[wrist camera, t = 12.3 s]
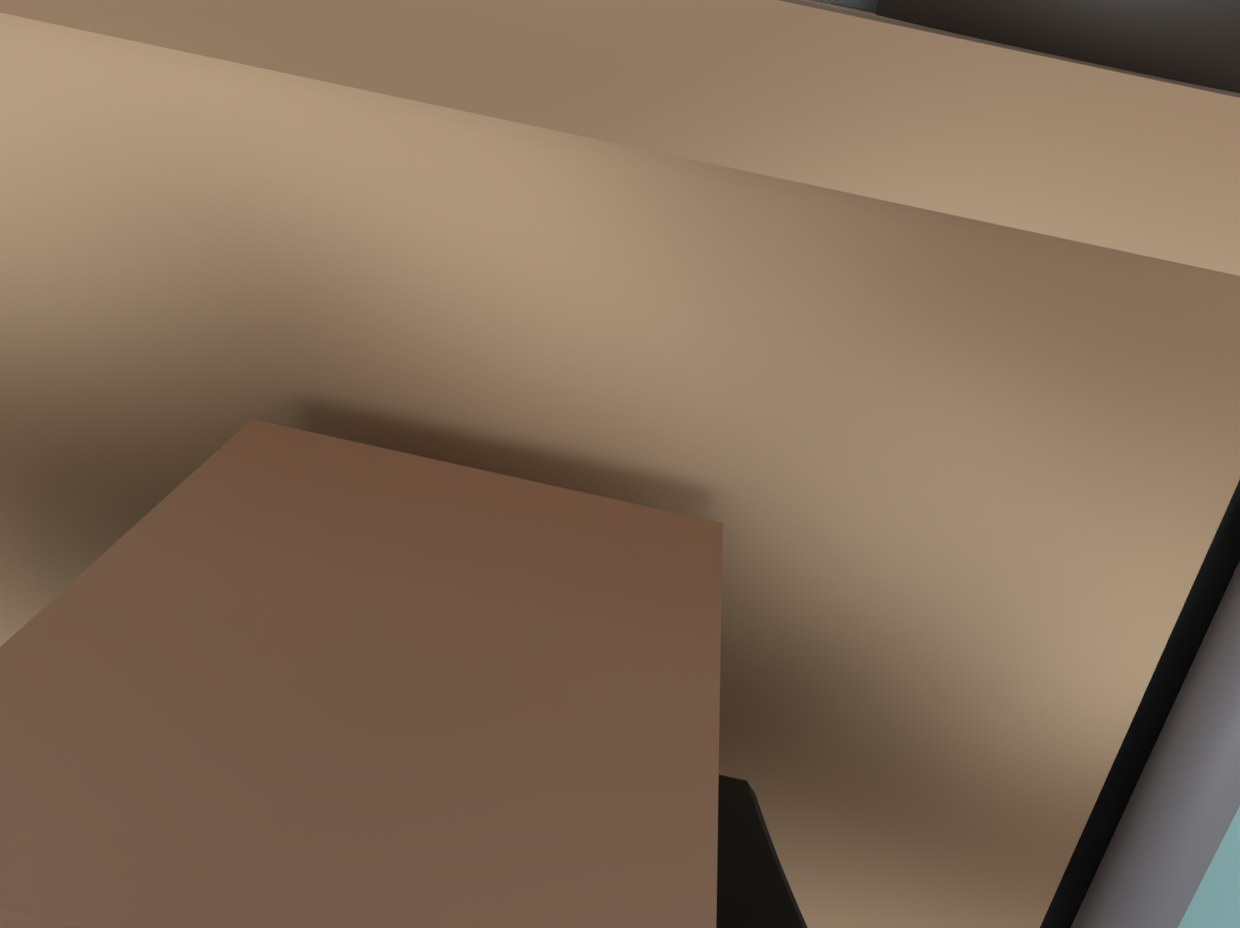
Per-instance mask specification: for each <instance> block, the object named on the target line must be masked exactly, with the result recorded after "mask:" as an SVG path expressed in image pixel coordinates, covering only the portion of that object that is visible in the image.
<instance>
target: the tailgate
mask: <svg viewBox="0 0 1240 928" xmlns="http://www.w3.org/2000/svg"><path fill="white" fill-rule="evenodd" d="M1071 928H1240V561H1239V563H1238V565H1237V567H1236V569H1235V571H1234V574H1233V576H1232V578H1231V580H1230V582H1229V584H1228V587H1227V589H1226V591H1225V593H1224V595H1223V598H1222V600H1221V602H1220V604H1219V606H1218V608H1217V611H1216V613H1215V615H1214V617H1213V619H1212V621H1211V624H1210V626H1209V628H1208V630H1207V632H1206V634H1205V637H1204V639H1203V641H1202V643H1201V645H1200V648H1199V650H1198V652H1197V654H1196V656H1195V658H1194V661H1193V663H1192V665H1191V667H1190V669H1189V671H1188V674H1187V676H1186V678H1185V680H1184V682H1183V684H1182V687H1181V689H1180V691H1179V693H1178V695H1177V698H1176V700H1175V702H1174V704H1173V706H1172V708H1171V711H1170V713H1169V715H1168V717H1167V719H1166V721H1165V724H1164V726H1163V728H1162V730H1161V732H1160V734H1159V737H1158V739H1157V741H1156V743H1155V745H1154V747H1153V750H1152V752H1151V754H1150V756H1149V758H1148V761H1147V763H1146V765H1145V767H1144V769H1143V771H1142V774H1141V776H1140V778H1139V780H1138V782H1137V784H1136V787H1135V789H1134V791H1133V793H1132V795H1131V797H1130V800H1129V802H1128V804H1127V806H1126V808H1125V811H1124V813H1123V815H1122V817H1121V819H1120V821H1119V824H1118V826H1117V828H1116V830H1115V832H1114V834H1113V837H1112V839H1111V841H1110V843H1109V845H1108V847H1107V850H1106V852H1105V854H1104V856H1103V858H1102V861H1101V863H1100V865H1099V867H1098V869H1097V871H1096V874H1095V876H1094V878H1093V880H1092V882H1091V884H1090V887H1089V889H1088V891H1087V893H1086V895H1085V897H1084V900H1083V902H1082V904H1081V906H1080V908H1079V910H1078V913H1077V915H1076V917H1075V919H1074V921H1073V924H1072V926H1071Z"/></svg>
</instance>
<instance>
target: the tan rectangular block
mask: <svg viewBox="0 0 1240 928" xmlns="http://www.w3.org/2000/svg"><path fill="white" fill-rule="evenodd" d="M722 525H723V523H719V522H715V521H710V520H706V519H701V518H697V517H692V516H688V515H683V514H679V513H674V512H670V511H665V510H660V509H656V508H651V507H647V506H642V505H638V504H633V503H629V502H624V501H620V500H615V499H611V498H606V497H602V496H597V495H593V494H588V493H584V492H579V491H575V490H570V489H566V488H561V487H557V486H552V485H548V484H543V483H539V482H534V481H530V480H525V479H521V478H516V477H512V476H507V475H503V474H498V473H494V472H489V471H485V470H480V469H475V468H471V467H466V466H462V465H457V464H453V463H448V462H444V461H439V460H435V459H430V458H426V457H421V456H417V455H412V454H408V453H403V452H399V451H394V450H390V449H385V448H381V447H376V446H372V445H367V444H363V443H358V442H354V441H349V440H345V439H340V438H336V437H331V436H327V435H322V434H318V433H313V432H309V431H304V430H300V429H295V428H291V427H286V426H281V425H277V424H272V423H268V422H263V421H259V420H254V419H252V420H251V421H250V422H248V423H247V424H246V425H245V426H244V427H243V428H242V429H241V430H240V431H238V432H237V433H236V434H235V435H234V436H233V437H232V438H231V439H230V440H229V441H227V442H226V443H225V444H224V445H223V446H222V447H221V448H220V449H219V450H217V451H216V452H215V453H214V454H213V455H212V456H211V457H210V458H209V459H207V460H206V461H205V462H204V463H203V464H202V465H201V466H200V467H199V468H198V469H196V470H195V471H194V472H193V473H192V474H191V475H190V476H189V477H188V478H186V479H185V480H184V481H183V482H182V483H181V484H180V485H179V486H178V487H177V488H175V489H174V490H173V491H172V492H171V493H170V494H169V495H168V496H167V497H165V498H164V499H163V500H162V501H161V502H160V503H159V504H158V505H157V506H156V507H154V508H153V509H152V510H151V511H150V512H149V513H148V514H147V515H146V516H144V517H143V518H142V519H141V520H140V521H139V522H138V523H137V524H136V525H134V526H133V527H132V528H131V529H130V530H129V531H128V532H127V533H126V534H125V535H123V536H122V537H121V538H120V539H119V540H118V541H117V542H116V543H115V544H113V545H112V546H111V547H110V548H109V549H108V550H107V551H106V552H105V553H104V554H102V555H101V556H100V557H99V558H98V559H97V560H96V561H95V562H94V563H92V564H91V565H90V566H89V567H88V568H87V569H86V570H85V571H84V572H83V573H81V574H80V575H79V576H78V577H77V578H76V579H75V580H74V581H73V582H71V583H70V584H69V585H68V586H67V587H66V588H65V589H64V590H63V591H61V592H60V593H59V594H58V595H57V596H56V597H55V598H54V599H53V600H52V601H50V602H49V603H48V604H47V605H46V606H45V607H44V608H43V609H42V610H40V611H39V612H38V613H37V614H36V615H35V616H34V617H33V618H32V619H31V620H29V621H28V622H27V623H26V624H25V625H24V626H23V627H22V628H21V629H19V630H18V631H17V632H16V633H15V634H14V635H13V636H12V637H11V638H9V639H8V640H7V641H6V642H5V643H4V644H3V645H2V646H1V647H0V928H716V916H717V851H718V786H719V721H720V655H721V590H722Z"/></svg>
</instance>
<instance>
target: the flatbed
mask: <svg viewBox="0 0 1240 928" xmlns="http://www.w3.org/2000/svg"><path fill="white" fill-rule="evenodd" d="M252 419H254V420H259V421H263V422H268V423H272V424H277V425H281V426H286V427H291V428H295V429H300V430H304V431H309V432H313V433H318V434H322V435H327V436H331V437H336V438H340V439H345V440H349V441H354V442H358V443H363V444H367V445H372V446H376V447H381V448H385V449H390V450H394V451H399V452H403V453H408V454H412V455H417V456H421V457H426V458H430V459H435V460H439V461H444V462H448V463H453V464H457V465H462V466H466V467H471V468H475V469H480V470H485V471H489V472H494V473H498V474H503V475H507V476H512V477H516V478H521V479H525V480H530V481H534V482H539V483H543V484H548V485H552V486H557V487H561V488H566V489H570V490H575V491H579V492H584V493H588V494H593V495H597V496H602V497H606V498H611V499H615V500H620V501H624V502H629V503H633V504H638V505H642V506H647V507H651V508H656V509H660V510H665V511H670V512H674V513H679V514H683V515H688V516H692V517H697V518H701V519H706V520H710V521H715V522H719V523H723V525H722V590H721V655H720V721H719V775H723V776H728V777H732V778H737V779H742V780H746V781H747V782H748V783H749V785H750V786H751V788H752V789H753V791H754V792H755V794H756V797H757V800H758V803H759V806H760V809H761V812H762V815H763V818H764V820H765V823H766V826H767V829H768V832H769V834H770V837H771V840H772V842H773V845H774V848H775V850H776V853H777V855H778V858H779V861H780V863H781V866H782V868H783V871H784V873H785V875H786V878H787V880H788V883H789V885H790V888H791V890H792V892H793V895H794V897H795V900H796V902H797V904H798V907H799V909H800V911H801V914H802V916H803V918H804V920H805V923H806V925H807V927H808V928H1040V926H1041V924H1042V922H1043V919H1044V917H1045V915H1046V913H1047V910H1048V908H1049V906H1050V904H1051V901H1052V899H1053V897H1054V895H1055V892H1056V890H1057V888H1058V886H1059V883H1060V881H1061V879H1062V877H1063V874H1064V872H1065V870H1066V868H1067V865H1068V863H1069V861H1070V859H1071V857H1072V854H1073V852H1074V850H1075V848H1076V845H1077V843H1078V841H1079V839H1080V836H1081V834H1082V832H1083V830H1084V827H1085V825H1086V823H1087V821H1088V818H1089V816H1090V814H1091V812H1092V809H1093V807H1094V805H1095V803H1096V800H1097V798H1098V796H1099V794H1100V792H1101V789H1102V787H1103V785H1104V783H1105V780H1106V778H1107V776H1108V774H1109V771H1110V769H1111V767H1112V765H1113V762H1114V760H1115V758H1116V756H1117V753H1118V751H1119V749H1120V747H1121V744H1122V742H1123V740H1124V738H1125V735H1126V733H1127V731H1128V729H1129V727H1130V724H1131V722H1132V720H1133V718H1134V715H1135V713H1136V711H1137V709H1138V706H1139V704H1140V702H1141V700H1142V697H1143V695H1144V693H1145V691H1146V688H1147V686H1148V684H1149V682H1150V679H1151V677H1152V675H1153V673H1154V670H1155V668H1156V666H1157V664H1158V662H1159V659H1160V657H1161V655H1162V653H1163V650H1164V648H1165V646H1166V644H1167V641H1168V639H1169V637H1170V635H1171V632H1172V630H1173V628H1174V626H1175V623H1176V621H1177V619H1178V617H1179V614H1180V612H1181V610H1182V608H1183V605H1184V603H1185V601H1186V599H1187V597H1188V594H1189V592H1190V590H1191V588H1192V585H1193V583H1194V581H1195V579H1196V576H1197V574H1198V572H1199V570H1200V567H1201V565H1202V563H1203V561H1204V558H1205V556H1206V554H1207V552H1208V549H1209V547H1210V545H1211V543H1212V540H1213V538H1214V536H1215V534H1216V531H1217V529H1218V527H1219V525H1220V523H1221V520H1222V518H1223V516H1224V514H1225V511H1226V509H1227V507H1228V505H1229V502H1230V500H1231V498H1232V496H1233V493H1234V491H1235V489H1236V487H1237V484H1238V482H1239V480H1240V0H879V3H878V7H877V11H876V13H875V12H870V11H866V10H861V9H856V8H851V7H847V6H842V5H837V4H833V3H828V2H823V1H818V0H0V647H1V646H2V645H3V644H4V643H5V642H6V641H7V640H8V639H9V638H11V637H12V636H13V635H14V634H15V633H16V632H17V631H18V630H19V629H21V628H22V627H23V626H24V625H25V624H26V623H27V622H28V621H29V620H31V619H32V618H33V617H34V616H35V615H36V614H37V613H38V612H39V611H40V610H42V609H43V608H44V607H45V606H46V605H47V604H48V603H49V602H50V601H52V600H53V599H54V598H55V597H56V596H57V595H58V594H59V593H60V592H61V591H63V590H64V589H65V588H66V587H67V586H68V585H69V584H70V583H71V582H73V581H74V580H75V579H76V578H77V577H78V576H79V575H80V574H81V573H83V572H84V571H85V570H86V569H87V568H88V567H89V566H90V565H91V564H92V563H94V562H95V561H96V560H97V559H98V558H99V557H100V556H101V555H102V554H104V553H105V552H106V551H107V550H108V549H109V548H110V547H111V546H112V545H113V544H115V543H116V542H117V541H118V540H119V539H120V538H121V537H122V536H123V535H125V534H126V533H127V532H128V531H129V530H130V529H131V528H132V527H133V526H134V525H136V524H137V523H138V522H139V521H140V520H141V519H142V518H143V517H144V516H146V515H147V514H148V513H149V512H150V511H151V510H152V509H153V508H154V507H156V506H157V505H158V504H159V503H160V502H161V501H162V500H163V499H164V498H165V497H167V496H168V495H169V494H170V493H171V492H172V491H173V490H174V489H175V488H177V487H178V486H179V485H180V484H181V483H182V482H183V481H184V480H185V479H186V478H188V477H189V476H190V475H191V474H192V473H193V472H194V471H195V470H196V469H198V468H199V467H200V466H201V465H202V464H203V463H204V462H205V461H206V460H207V459H209V458H210V457H211V456H212V455H213V454H214V453H215V452H216V451H217V450H219V449H220V448H221V447H222V446H223V445H224V444H225V443H226V442H227V441H229V440H230V439H231V438H232V437H233V436H234V435H235V434H236V433H237V432H238V431H240V430H241V429H242V428H243V427H244V426H245V425H246V424H247V423H248V422H250V421H251V420H252Z"/></svg>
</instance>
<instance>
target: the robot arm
mask: <svg viewBox="0 0 1240 928" xmlns="http://www.w3.org/2000/svg"><path fill="white" fill-rule="evenodd" d="M716 928H808V927H807V925H806V923H805V920H804V918H803V916H802V914H801V911H800V909H799V907H798V904H797V902H796V900H795V897H794V895H793V892H792V890H791V888H790V885H789V883H788V880H787V878H786V875H785V873H784V871H783V868H782V866H781V863H780V861H779V858H778V855H777V853H776V850H775V848H774V845H773V842H772V840H771V837H770V834H769V832H768V829H767V826H766V823H765V820H764V818H763V815H762V812H761V809H760V806H759V803H758V800H757V797H756V794H755V792H754V791H753V789H752V788H751V786H750V785H749V783H748V782H747V781H746V780H742V779H737V778H732V777H728V776H723V775H719V786H718V851H717V916H716Z"/></svg>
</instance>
